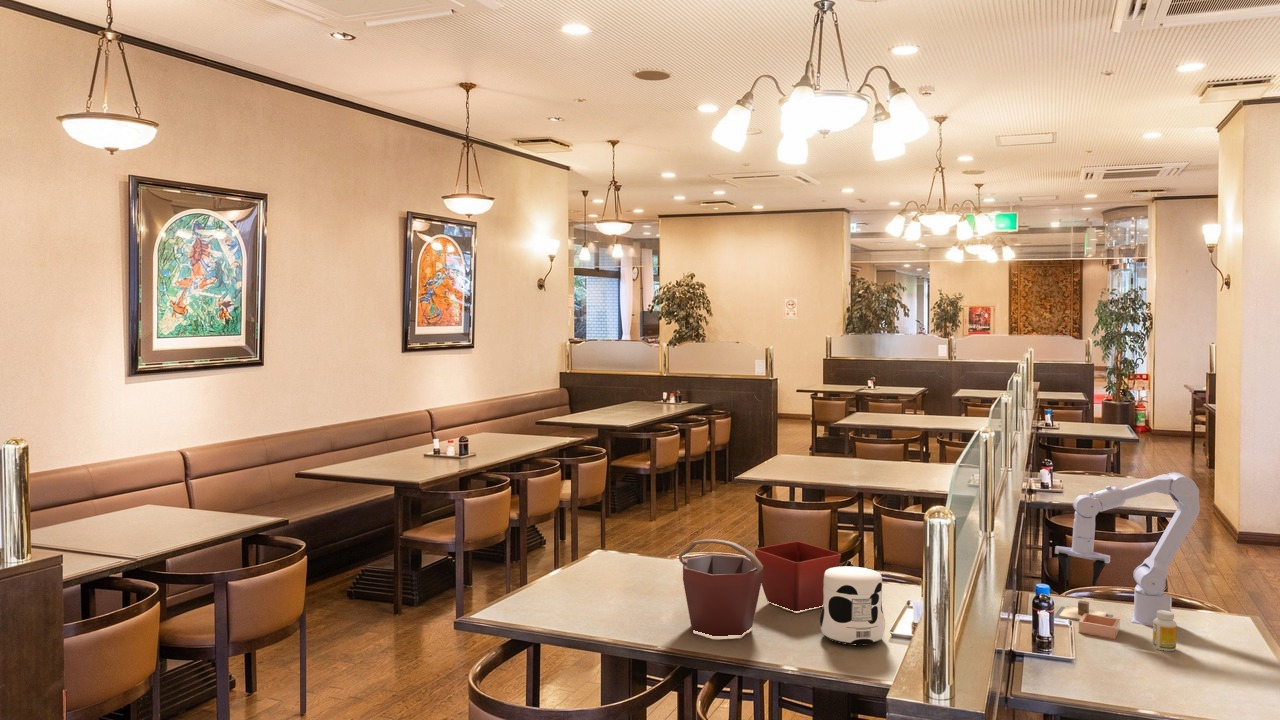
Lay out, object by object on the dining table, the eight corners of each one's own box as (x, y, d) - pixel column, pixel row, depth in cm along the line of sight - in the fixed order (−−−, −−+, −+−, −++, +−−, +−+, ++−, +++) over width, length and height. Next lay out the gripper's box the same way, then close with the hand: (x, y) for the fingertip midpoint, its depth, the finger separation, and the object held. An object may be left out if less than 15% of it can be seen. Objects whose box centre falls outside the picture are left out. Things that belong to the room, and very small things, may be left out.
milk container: (842, 624, 258) (843, 561, 257) (897, 639, 245) (897, 574, 245) (807, 638, 246) (807, 573, 245) (862, 655, 233) (863, 586, 233)
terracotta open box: (1119, 631, 252) (1120, 619, 252) (1114, 640, 245) (1115, 628, 244) (1084, 625, 257) (1084, 613, 257) (1078, 634, 250) (1078, 621, 250)
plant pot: (842, 608, 272) (843, 553, 271) (796, 620, 261) (796, 562, 261) (797, 592, 288) (798, 540, 287) (752, 603, 277) (752, 548, 276)
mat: (1113, 616, 265) (1113, 615, 265) (1106, 627, 255) (1106, 626, 255) (1061, 607, 273) (1061, 606, 273) (1053, 618, 263) (1053, 616, 263)
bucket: (662, 628, 253) (662, 540, 252) (711, 610, 270) (711, 527, 269) (732, 650, 237) (732, 556, 236) (779, 629, 253) (780, 541, 252)
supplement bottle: (1148, 646, 240) (1148, 610, 240) (1161, 643, 243) (1161, 608, 242) (1167, 653, 236) (1168, 616, 235) (1180, 649, 238) (1181, 613, 238)
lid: (1107, 614, 265) (1107, 600, 265) (1101, 624, 256) (1101, 610, 256) (1066, 607, 272) (1066, 594, 272) (1059, 617, 263) (1059, 603, 263)
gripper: (1053, 533, 265) (1050, 579, 266) (1107, 543, 256) (1103, 590, 257) (1060, 530, 271) (1057, 574, 271) (1113, 539, 261) (1109, 585, 262)
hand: (1080, 582), depth 264 cm, fingers open, 7 cm apart
